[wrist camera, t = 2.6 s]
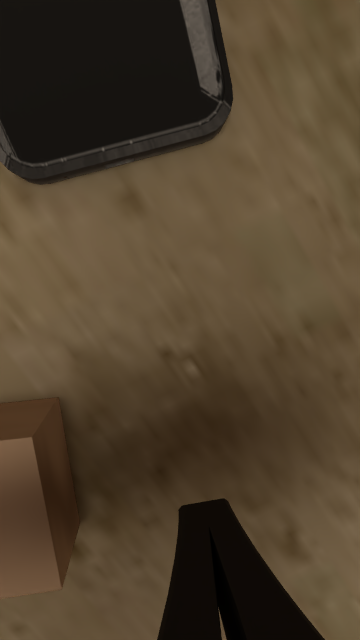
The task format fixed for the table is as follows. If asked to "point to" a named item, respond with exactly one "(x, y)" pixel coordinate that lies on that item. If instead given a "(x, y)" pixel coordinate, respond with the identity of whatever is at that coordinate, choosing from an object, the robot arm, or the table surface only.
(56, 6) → the phone
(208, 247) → the table surface
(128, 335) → the table surface
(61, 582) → the walnut tile
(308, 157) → the table surface
